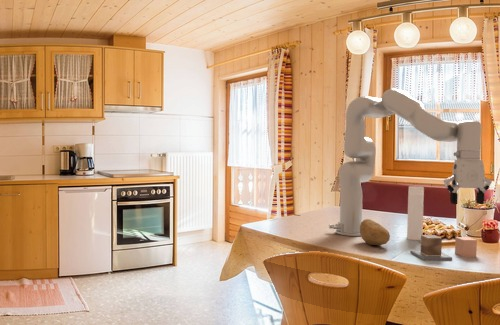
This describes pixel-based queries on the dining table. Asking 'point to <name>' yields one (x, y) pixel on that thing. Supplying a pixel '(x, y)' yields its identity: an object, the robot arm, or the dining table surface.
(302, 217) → the dining table surface
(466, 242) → the terracotta block
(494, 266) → the dining table surface
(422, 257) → the slate board
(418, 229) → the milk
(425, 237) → the walnut block
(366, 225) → the potato
